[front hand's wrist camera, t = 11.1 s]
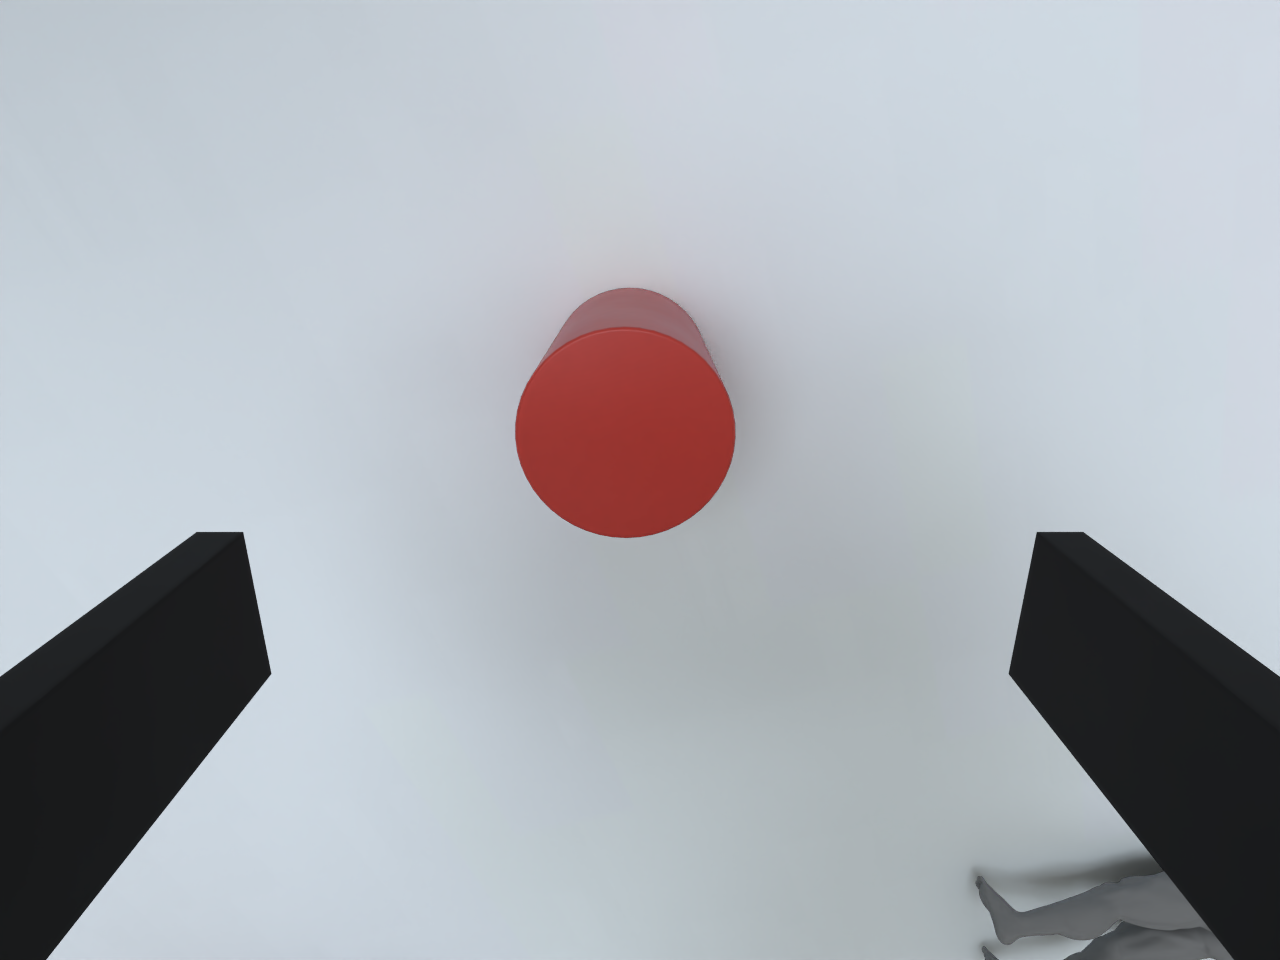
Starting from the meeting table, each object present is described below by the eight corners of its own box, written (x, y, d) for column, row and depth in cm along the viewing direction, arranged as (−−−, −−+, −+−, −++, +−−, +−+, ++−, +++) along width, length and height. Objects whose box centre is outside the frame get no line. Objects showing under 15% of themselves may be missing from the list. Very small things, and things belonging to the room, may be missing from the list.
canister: (540, 299, 27) (494, 343, 18) (698, 277, 26) (724, 312, 18) (567, 448, 29) (536, 551, 20) (713, 429, 28) (745, 525, 20)
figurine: (982, 1015, 40) (1394, 978, 38) (1015, 1105, 36) (1477, 1071, 34) (958, 771, 35) (1442, 708, 32) (993, 846, 31) (1548, 780, 28)
